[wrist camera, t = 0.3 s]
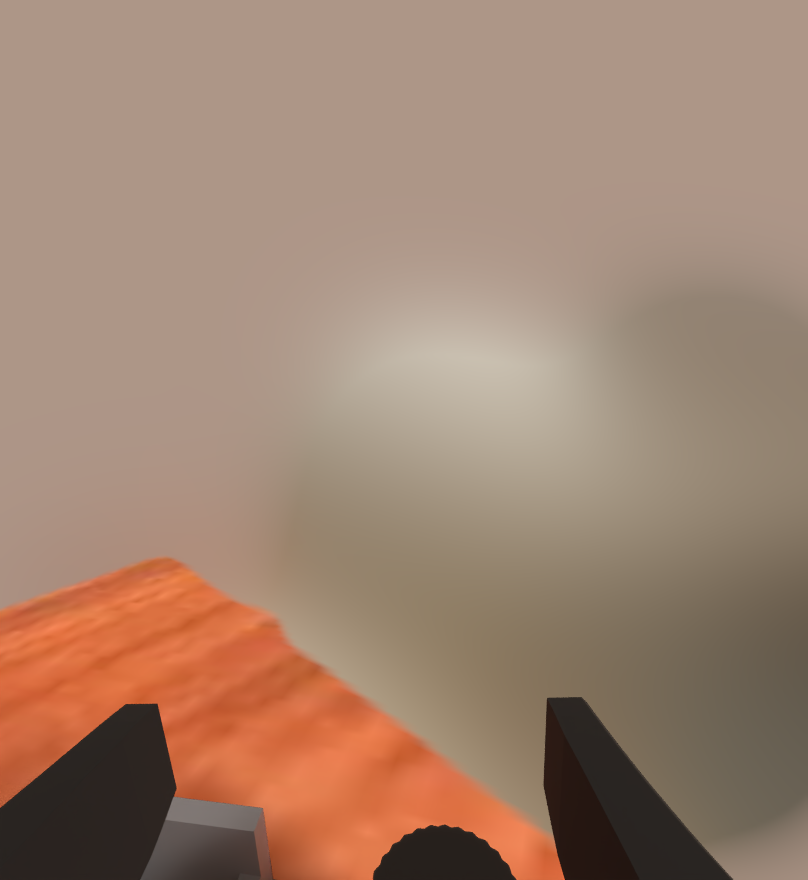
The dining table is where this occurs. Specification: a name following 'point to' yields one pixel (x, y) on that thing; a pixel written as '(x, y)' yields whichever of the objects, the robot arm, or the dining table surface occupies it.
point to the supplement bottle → (442, 857)
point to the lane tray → (211, 843)
